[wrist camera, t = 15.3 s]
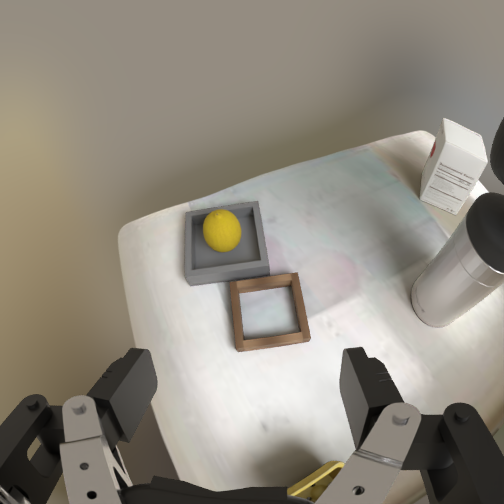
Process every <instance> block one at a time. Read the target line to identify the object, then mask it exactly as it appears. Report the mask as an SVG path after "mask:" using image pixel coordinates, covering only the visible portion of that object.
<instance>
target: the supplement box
mask: <svg viewBox="0 0 504 504" xmlns="http://www.w3.org/2000/svg"><path fill="white" fill-rule="evenodd" d="M487 163H488V161H487V156H486V153H485V147H484V144H483V140H482V137H481V135H479V134H477V133H475V132H473V131H471V130H469V129H467V128H465V127H463V126H461V125H459V124H457V123H455V122H453V121H451V120H448V119H445V118H443V120H442V122H441V125H440V128H439V131H438V134H437V136H436V139H435V142H434V144H433V147H432V150H431V152H430V155H429V157H428V160H427V162H426V165H425V167H424V170H423V172H422V180H421V190H420V200H422V201H424V202H427V203H429V204H431V205H434V206H436V207H438V208H441V209H443V210H445V211H447V212H450V213H452V214H454V215H457V213H458V212H459V210H460V209H461V207H462V205H463V204H464V202H465V201H466V199H467V197H468V196H469V194H470V192H471V191H472V189H473V187H474V186H475V184H476V182H477V181H478V179H479V177H480V175H481V174H482V172H483V170H484V168H485V166H486V165H487Z"/></svg>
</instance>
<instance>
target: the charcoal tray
mask: <svg viewBox="0 0 504 504" xmlns="http://www.w3.org/2000/svg"><path fill="white" fill-rule="evenodd" d="M218 209H224V210H228V211H230V212H231V213H233V214H234V215H235V216H236V218H237V219H238V221H239V223H240V226H241V239H240V242H239V244H238V245H237V246H236V247H235V248H234V249H233V250H231V251H228V252H218V251H215V250H213V249H212V248H211V247H210V246H209V245H208V244H207V242H206V241H205V238H204V235H203V224H204V220H205V218H206V217H207V215H208V214H209V213H211V212H212V211H215V210H218ZM268 275H270V269H269V261H268V255H267V249H266V243H265V237H264V231H263V226H262V220H261V214H260V208H259V203H258V201H255V202H248V203H241V204H234V205H228V206H221V207H215V208H208V209H202V210H196V211H190V212H186V222H185V278H186V280H187V281H188V283H189V285H190V286H196V285H203V284H211V283H218V282H226V281H233V280H240V279H247V278H255V277H262V276H268Z"/></svg>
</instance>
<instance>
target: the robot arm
mask: <svg viewBox="0 0 504 504" xmlns="http://www.w3.org/2000/svg"><path fill="white" fill-rule="evenodd" d="M490 163H491V167H492V170H493V172H494V174H495V175H496V177H497V178H498V179H499V180H500V181H501V182H502V183H503V184H504V118H503V120H502V122H501V124H500V126H499V128H498V130H497V132H496V135H495V138H494V141H493V144H492V149H491V154H490ZM503 282H504V195H501V194H498V193H485V194H482V195H481V196H479V197H478V198H477V199H476V200H475V202H474V203H473V205H472V206H471V208H470V209H469V211H468V212H467V214H466V215H465V217H464V218H463V220H462V221H461V223H460V224H459V226H458V227H457V229H456V230H455V231H454V233H453V234H452V235H451V237H450V238H449V240H448V241H447V242H446V244H445V245H444V246H443V248H442V249H441V250H440V251H439V253H438V254H437V255H436V257H435V258H434V259H433V260H432V262H431V263H430V264H429V265H428V267H427V268H426V269H425V270H424V271H423V273H422V274H421V275H420V276H419V277H418V279H417V280H416V281H415V283H414V285H413V287H412V292H411V300H412V305H413V308H414V310H415V312H416V314H417V315H418V317H419V318H420V319H421V320H422V321H423V322H425V323H426V324H427V325H430V326H432V327H437V328H438V327H444V326H447V325H448V324H450V323H451V322H453V321H454V320H456V319H457V318H459V317H460V316H462V315H463V314H464V313H466V312H467V311H468V310H470V309H471V308H472V307H474V306H475V305H476V304H478V303H479V302H480V301H482V300H483V299H484V298H485V297H487V296H488V295H489V294H490V293H492V292H493V291H494V290H495V289H496V288H498V287H499V286H500V285H501V284H502V283H503ZM156 390H157V376H156V373H155V369H154V365H153V361H152V358H151V354H150V351H149V350H148V349H138V348H131V349H130V350H129V351H128V352H127V353H126V355H125V356H124V357H123V358H120V359H118V360H116V361H115V362H113V363H112V364H111V365H110V366H109V368H108V369H107V370H106V372H105V373H104V374H103V375H102V378H101V377H100V379H99V380H98V381H97V382H96V384H95V385H94V386H93V387H92V389H91V390H90V391H89V392H88V394H87V395H86V396H83V395H82V396H81V395H80V396H75V397H72V398H70V399H69V400H67V401H66V402H65V404H64V405H63V406H50V405H49V404H48V402H47V400H46V398H45V397H44V396H42V395H39V394H34V395H30V396H27V397H26V398H24V399H23V400H22V401H21V402H20V403H19V405H18V406H17V407H16V408H15V409H14V410H13V411H12V413H11V414H10V415H9V416H8V417H7V418H6V420H5V421H4V422H3V423H2V424H1V426H0V504H46V503H47V501H48V499H49V497H50V495H51V493H52V491H53V489H54V487H55V486H56V484H57V482H58V480H59V478H60V476H61V474H62V473H63V474H64V480H65V485H66V490H67V495H68V499H69V503H70V504H382V503H383V501H384V500H385V498H386V496H387V494H388V493H389V491H390V489H391V487H392V485H393V483H394V481H395V480H396V478H397V476H398V474H399V472H400V470H420V472H421V476H422V479H423V482H424V485H425V489H426V492H427V495H428V499H429V502H430V504H504V456H503V454H502V453H501V451H500V449H499V447H498V445H497V444H496V442H495V440H494V439H493V437H492V435H491V433H490V432H489V430H488V428H487V427H486V425H485V423H484V422H483V420H482V418H481V417H480V415H479V414H478V412H477V411H476V409H475V408H474V407H472V406H471V405H469V404H466V403H454V404H451V405H449V406H448V407H447V408H446V409H445V411H444V413H443V415H423V414H421V413H420V411H419V410H418V409H417V408H416V407H414V406H413V405H411V404H408V403H404V401H403V399H402V397H401V395H400V393H399V391H398V389H397V387H396V386H395V384H394V382H393V380H392V378H391V376H390V374H389V373H388V371H387V369H386V367H385V365H384V364H383V363H382V362H381V361H379V360H378V359H377V358H375V357H374V358H368V357H367V355H366V353H365V351H364V349H363V347H357V348H347V349H344V350H343V356H342V364H341V372H340V393H341V397H342V400H343V404H344V407H345V411H346V414H347V418H348V422H349V425H350V429H351V433H352V437H353V440H354V444H355V448H356V450H355V451H354V452H353V454H352V455H351V456H350V458H349V459H348V461H347V462H346V463H345V465H344V466H343V468H342V469H341V470H340V472H339V473H338V474H337V476H336V477H335V478H334V480H333V481H332V482H331V484H330V485H329V486H328V487H327V489H326V490H325V491H324V492H323V494H322V495H321V496H320V497H319V498H318V500H317V501H316V502H315V503H314V502H312V501H310V500H307V499H304V498H301V497H297V496H292V495H287V487H249V488H243V489H236V490H229V491H220V492H216V491H211V490H208V489H205V488H202V487H199V486H196V485H193V484H190V483H188V482H185V481H180V480H174V479H168V478H162V477H157V476H153V478H152V481H151V483H147V484H139V485H132V483H131V481H130V479H129V476H128V473H127V471H126V468H125V466H124V463H123V460H122V458H121V455H120V452H119V449H118V447H117V446H116V444H117V442H118V441H119V440H120V441H124V442H128V443H129V442H130V440H131V438H132V436H133V435H134V433H135V431H136V429H137V427H138V425H139V423H140V421H141V419H142V417H143V415H144V413H145V411H146V409H147V407H148V405H149V404H150V402H151V400H152V398H153V396H154V394H155V392H156ZM36 437H37V438H38V440H39V441H40V443H41V445H40V447H39V448H38V450H37V451H36V452H35V454H34V456H33V457H32V458H31V460H30V461H29V460H28V458H27V450H28V448H29V447H30V445H31V444H32V442H33V441H34V440H35V438H36Z"/></svg>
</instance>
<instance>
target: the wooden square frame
mask: <svg viewBox="0 0 504 504" xmlns="http://www.w3.org/2000/svg"><path fill="white" fill-rule="evenodd" d="M287 286H291V287H292V292H293V297H294V302H295V308H296V313H297V318H298V324H299V329H300V332H298V333H292V334H286V335H279V336H272V337H266V338H258V339H251V340H244V333H243V324H242V315H241V306H240V297H239V293H246V292H253V291H260V290H267V289H273V288H280V287H287ZM230 292H231V303H232V313H233V323H234V333H235V343H236V349H237V351H238V352H242V351H250V350H258V349H265V348H272V347H279V346H286V345H292V344H298V343H304V342H309V341H310V339H311V336H310V331H309V326H308V321H307V316H306V311H305V306H304V301H303V296H302V291H301V286H300V282H299V277H298V272H296V273H290V274H283V275H277V276H270V277H263V278H256V279H249V280H242V281H235V282H230Z"/></svg>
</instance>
